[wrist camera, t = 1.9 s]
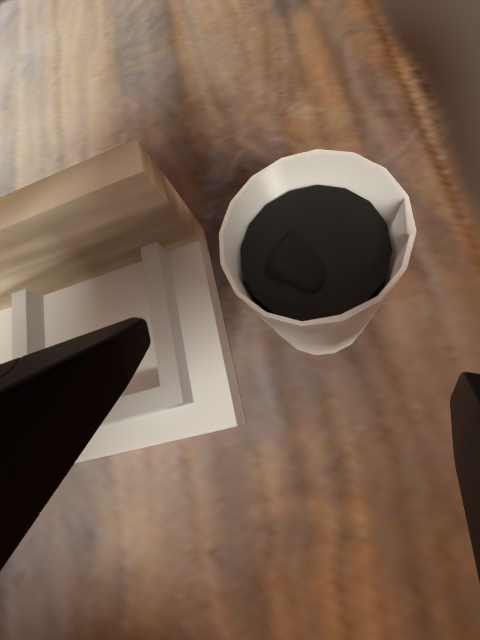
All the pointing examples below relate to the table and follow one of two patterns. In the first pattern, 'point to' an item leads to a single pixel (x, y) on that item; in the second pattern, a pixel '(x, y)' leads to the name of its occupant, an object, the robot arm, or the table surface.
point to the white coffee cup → (317, 245)
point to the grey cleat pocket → (163, 354)
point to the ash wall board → (89, 222)
